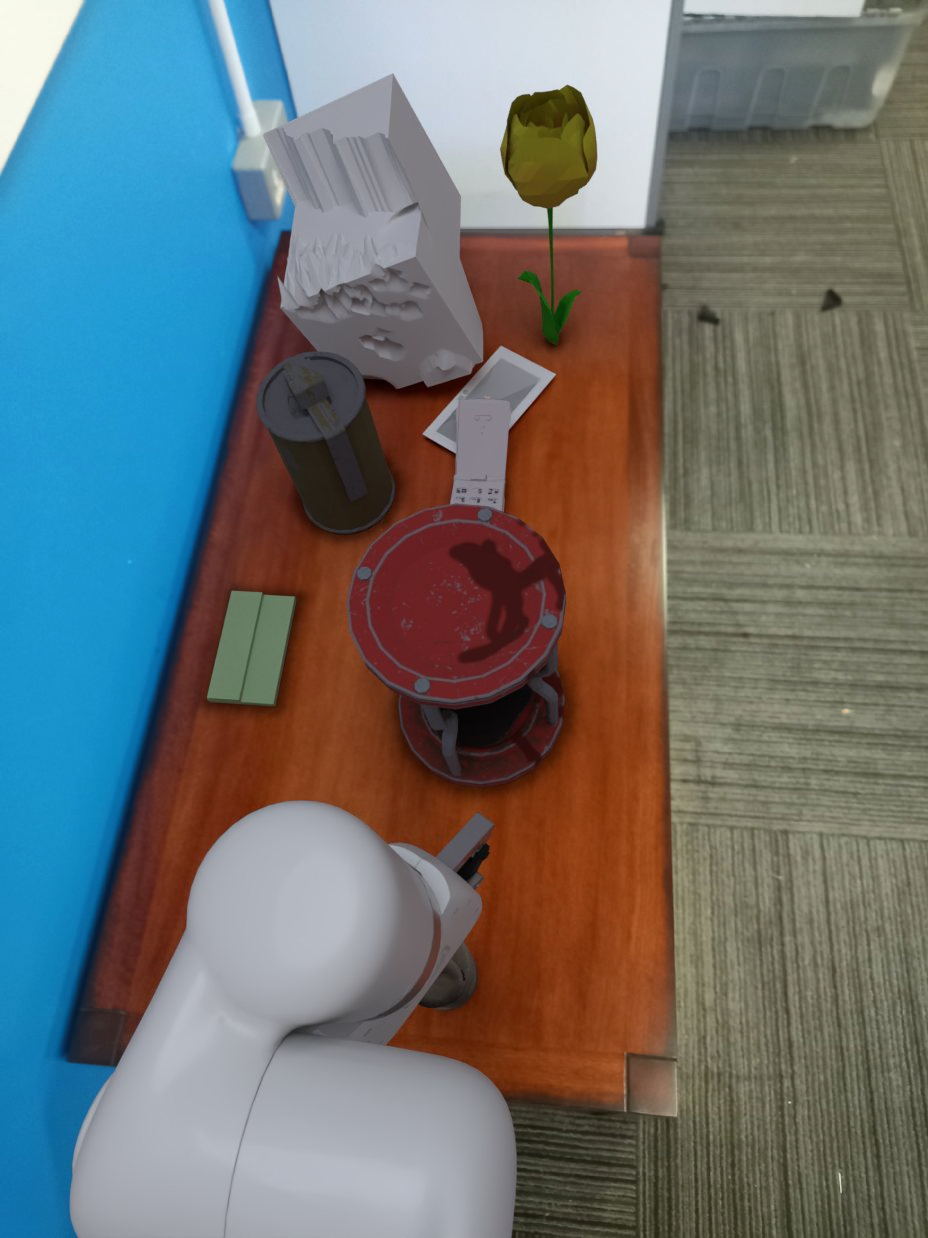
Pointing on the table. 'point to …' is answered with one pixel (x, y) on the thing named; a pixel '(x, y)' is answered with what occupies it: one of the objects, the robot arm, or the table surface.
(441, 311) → the grey carved stone block
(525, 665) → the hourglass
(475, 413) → the mobile phone
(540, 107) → the flower
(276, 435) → the canister
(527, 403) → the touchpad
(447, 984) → the grey spiral shell
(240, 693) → the towel
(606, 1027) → the table surface
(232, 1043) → the robot arm
